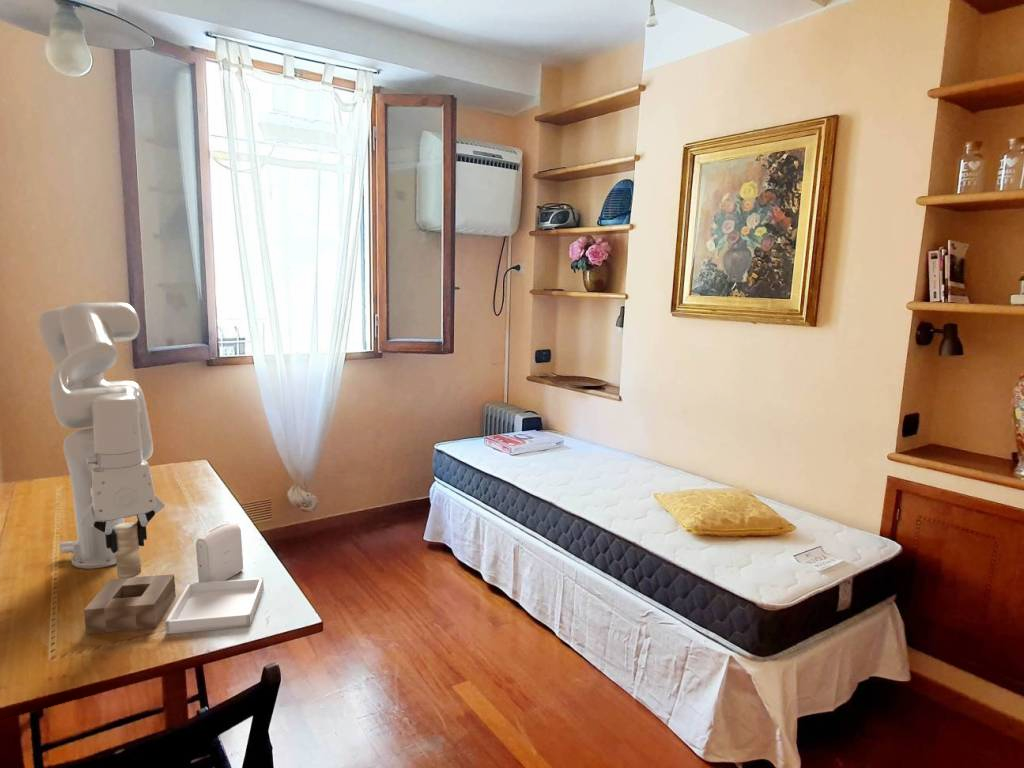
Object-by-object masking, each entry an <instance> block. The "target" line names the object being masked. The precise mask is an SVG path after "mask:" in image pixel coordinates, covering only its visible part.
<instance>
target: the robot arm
mask: <svg viewBox="0 0 1024 768" xmlns="http://www.w3.org/2000/svg"><path fill="white" fill-rule="evenodd" d="M140 325H141V324H140V318H139V315H138V313H137V311H136V309H135V308H134V307H133V306H132V305H131V304H129V303H127V302H119V301H118V302H115V301H111V302H103V301H101V302H77V303H73V304H70V305H68V306H65V307H64V306H63V307H54V308H51V309H47V310H44V311H43V312H42V313H41V314H40V315H39V318H38V328H39V329H38V330H39V332H40V336H41V340H42V342H43V344H44V346H45V348H46V351H47V352H48V354H49V355H50V358H51V359H52V360H53V361H54V363H55V366H56V367H55V370H54V371H53V373H52V375H51V378H50V382H49V394H50V399H51V403H52V404H51V405H52V408H53V412H54V416H55V418H56V421H57V422H58V423H59V425H60V426H62V427H63V428H66V429H70V430H72V429H79V430H76V431H73V432H71V433H69V434H68V435H66V437H65V438H64V440H63V444H62V448H63V449H62V450H63V455H64V459H65V461H66V465H67V467H68V468H67V469H68V472H69V476H70V482H71V489H72V490H71V491H72V497H73V498H72V499H73V508H74V516H75V517H74V518H75V525H76V527H75V528H76V536H77V540H75V541H61V542H60V544H59V550H60V554H69V553H72V554H73V556H71V565H72V566H74V567H75V568H78V569H84V570H85V569H91V570H92V569H99V568H105V567H110V566H113V565H117V564H116V552H117V543H116V534H115V532H114V530H113V528H114V527H115V526H116V525H118V524H122V523H126V522H125V521H126V520H125V519H126V518H130V517H134V516H135V517H136V519H137V521H136V523H137V525H138V539H139V547H144V546H145V540H148V537H147V536H148V535H147V526H148V524H149V522H151V520H152V519H153V517H155V515H156V514H157V513H159V512H160V511H161V510H163V509H164V508H165V504H164V502H163V501H162V500H161V499H160V498H159V497H158V496H157V495H156V494H155V489H154V483H153V475H152V472H151V469H150V465H149V462H148V461H147V460H149V459H150V458H151V457H152V455H153V453H154V442H153V435H152V434H153V433H152V430H151V424H150V419H149V414H148V409H147V408H148V407H147V403H146V400H145V398H146V397H145V394H144V391H143V390H142V387H141V386H140V384H139V383H137V382H136V381H133V380H128V379H127V380H126V379H125V380H124V379H122V380H114V381H113V380H112V381H111V380H110V381H107V380H106V379H105V375H104V372H106V371H108V370H109V369H111V368H112V367H113V366H114V365H115V364H116V363H117V361H118V358H119V354H118V350H117V347H116V344H115V343H119V342H122V343H123V342H129V341H132V340H134V339H136V338H137V337H138V335H139V333H140V327H141V326H140Z"/></svg>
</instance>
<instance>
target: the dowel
mask: <svg viewBox="0 0 1024 768" xmlns="http://www.w3.org/2000/svg"><path fill="white" fill-rule="evenodd" d="M113 530H114V532H115V534H116V543H117V552H116V564H115V565H116V574H117V577H118V578H131V577H138V576H139V575H140V574H141V572H142V565H141V552H140V546H139V539H138V525H137V522H134V521H133V522H132V521H131V522H130V521H129V522H128V521H127V522H125V523H122V524H118V525H116V526H115V527H114V528H113Z"/></svg>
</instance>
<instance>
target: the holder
mask: <svg viewBox="0 0 1024 768" xmlns="http://www.w3.org/2000/svg"><path fill="white" fill-rule="evenodd" d="M175 581H176V580H175V574H164V575H163V574H160V575H147V576H135V577H131V578H119V577H118V578H116V577H115V578H110V579H109V580H108V581H107V582H106V583H105V585H103V587H102V588H101V589H100V590H99V592H98V593H97V594H96V595H95V596H94V597H93V599H91V601H90V602H89V603H88V604H87V605H86V606H85V608H84V609H83V615H84V623H85V625H84V626H85V632H86V633H85V634H86V635H91V634H100V633H101V634H102V633H110V632H111V633H112V632H124V631H125V632H126V631H136V630H149V629H156V628H158V626H159V624H160V623H161V621H162V619H163V617H164V616H165V614H166V612H167V611H168V610H169V608H170V606H171V605H172V603H173V601H174V600H175V598H176V597H177V596H176V583H175Z"/></svg>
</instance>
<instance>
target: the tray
mask: <svg viewBox="0 0 1024 768" xmlns="http://www.w3.org/2000/svg"><path fill="white" fill-rule="evenodd" d="M264 584H265V583H264V577H254V578H241V579H239V578H238V579H231V580H230V579H229V580H228V579H227V580H225V581H212V582H199V581H198V582H189V583H187V585H186V587H185V588H184V590H183V592H182V593H181V594H180V596H179V598H178V600H177V602H176V603H175V605H174V606H173V608H172V609H171V611H170V613H169V615H168V617H167V618H166V619H165V621H164V626H165V635H168V634H170V635H171V634H180V633H193V632H203V631H213V630H215V631H216V630H224V629H225V630H226V629H235V628H236V629H237V628H248V627H251V625H252V622H253V619H254V616H255V614H256V611H257V609H258V605H259V602H260V600H261V597H262V595H261V594H263V592H262V591H264V589H263V588H265V587H264V586H265V585H264Z"/></svg>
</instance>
